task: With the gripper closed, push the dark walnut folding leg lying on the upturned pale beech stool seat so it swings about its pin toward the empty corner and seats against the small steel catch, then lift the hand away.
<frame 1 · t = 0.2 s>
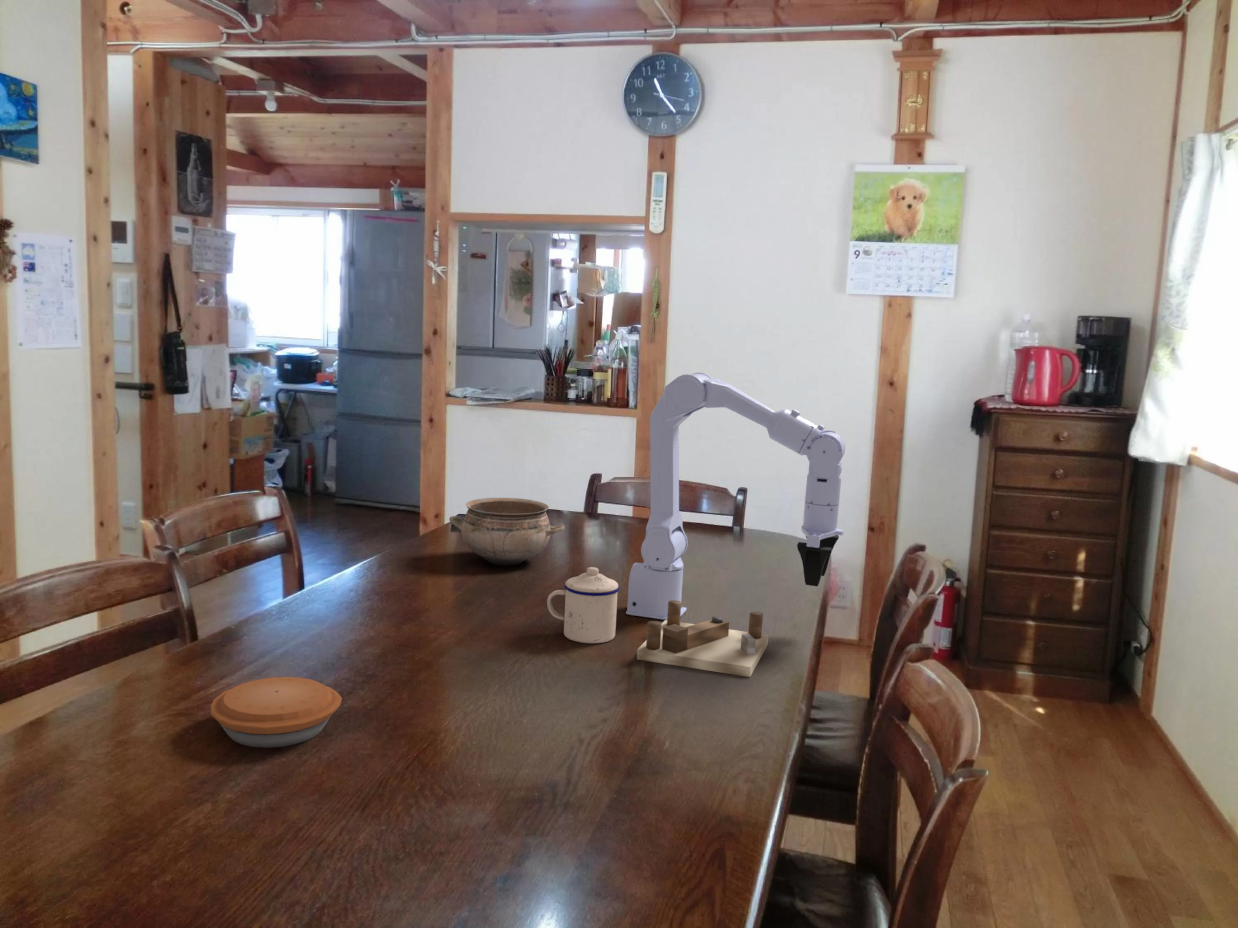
hand: (815, 579, 173), 10 cm above the table, tool pointing down, fingers open, 7 cm apart
cooking pot: (505, 562, 215), on the table
teacup with lid: (580, 635, 169), on the table
pie: (276, 730, 126), on the table
stool seat: (704, 651, 164), on the table
folding leg: (696, 631, 163), point 3 cm above the table, hinge at -57.0°
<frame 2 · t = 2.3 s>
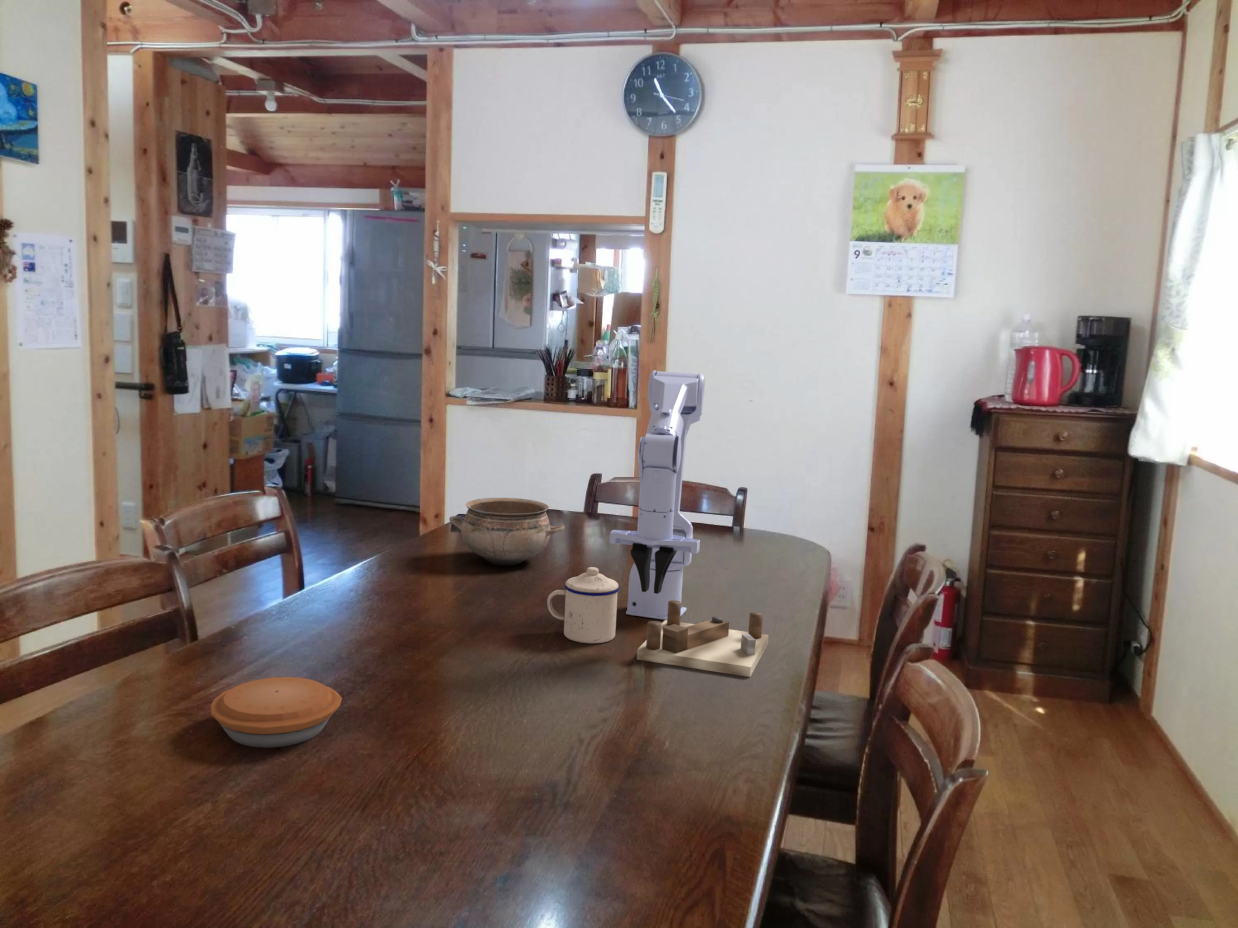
hand: (651, 591, 163), 9 cm above the table, tool pointing down, fingers closed
nothing on the table moved.
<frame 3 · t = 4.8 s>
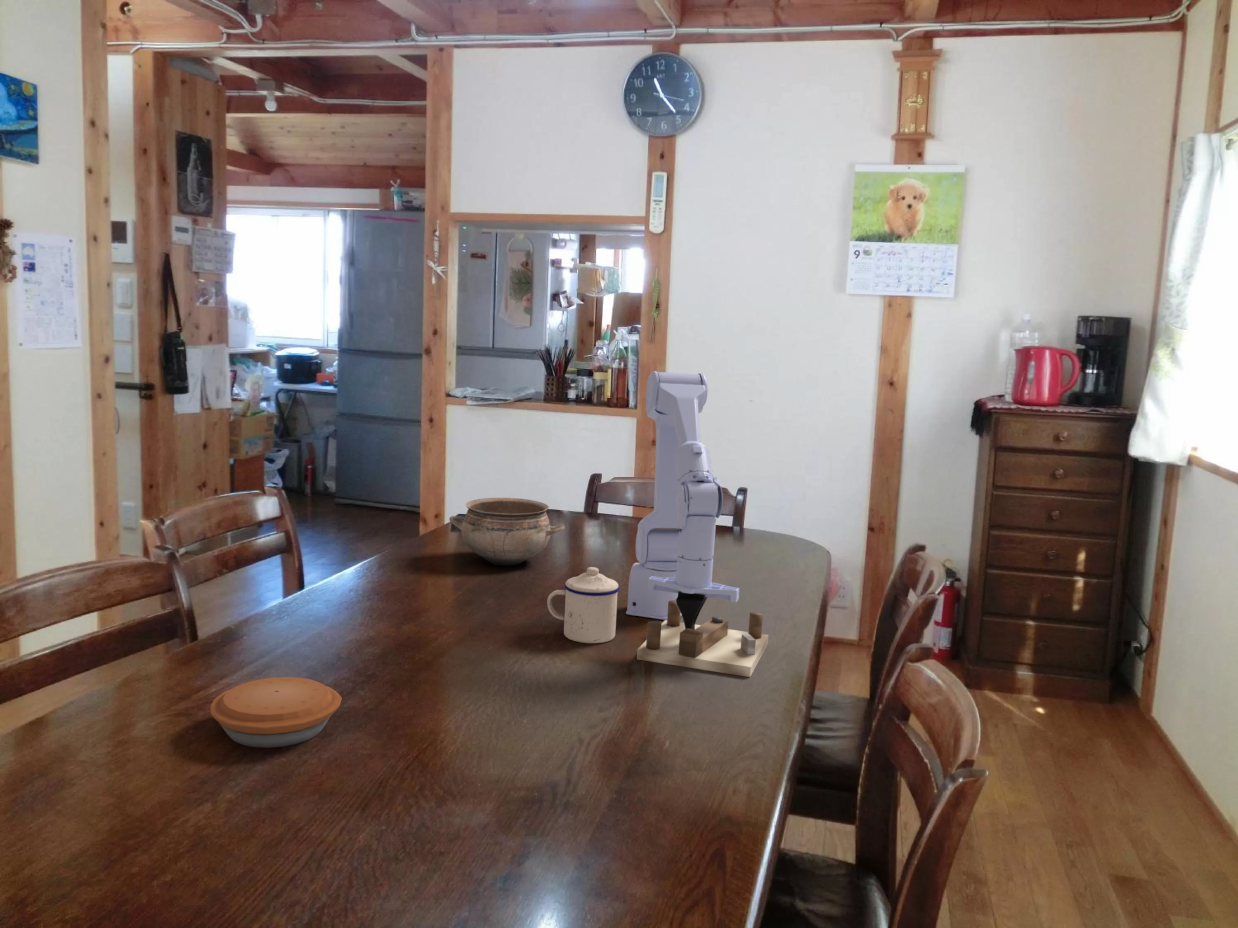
hand: (689, 638, 162), 3 cm above the table, tool pointing down, fingers closed, pressing on folding leg
folding leg: (704, 633, 162), point 3 cm above the table, hinge at -41.5°, touching gripper
everything else where it was.
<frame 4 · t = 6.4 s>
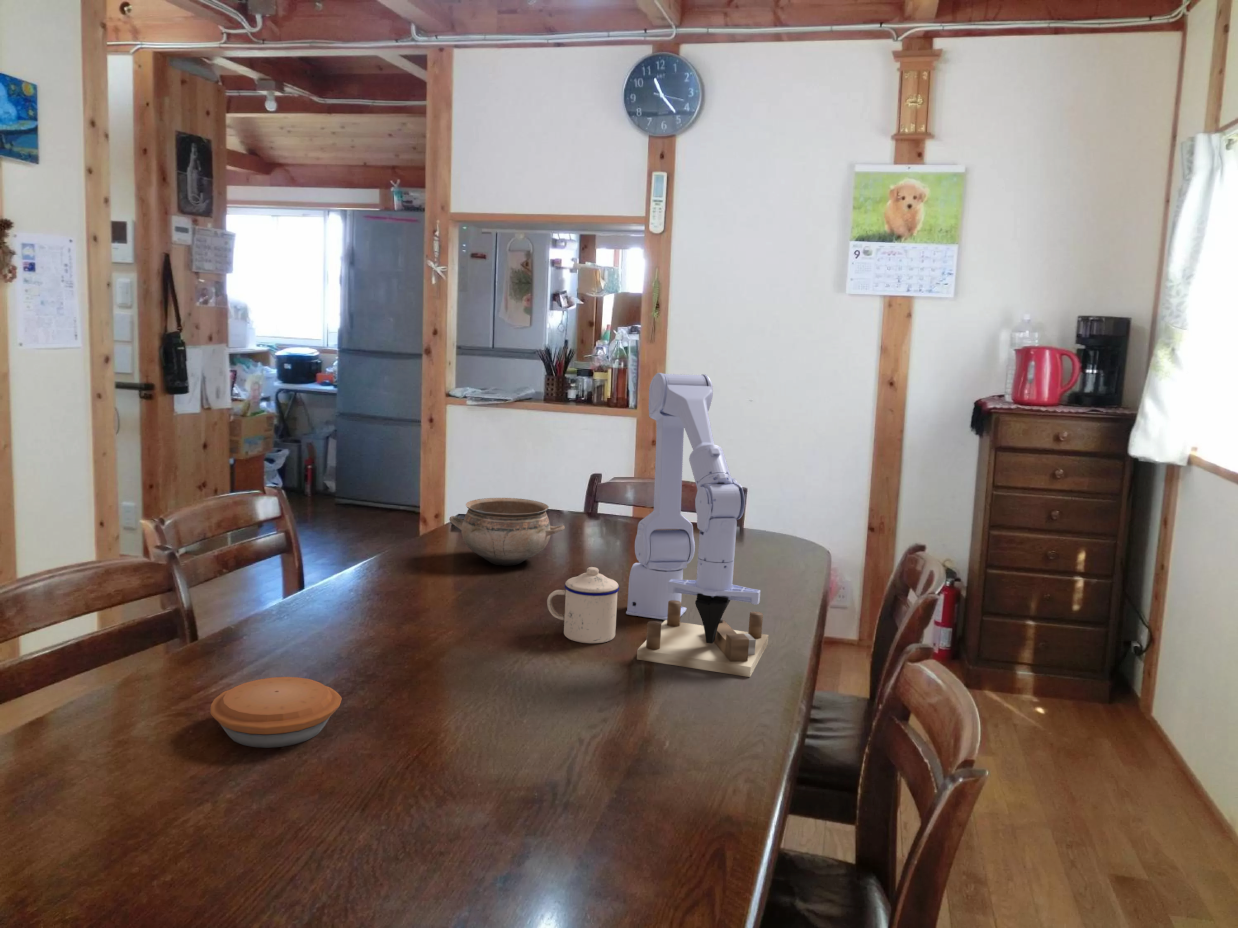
hand: (710, 641, 161), 3 cm above the table, tool pointing down, fingers closed
folding leg: (726, 635, 161), point 3 cm above the table, hinge at -3.6°, touching gripper
everything else where it was.
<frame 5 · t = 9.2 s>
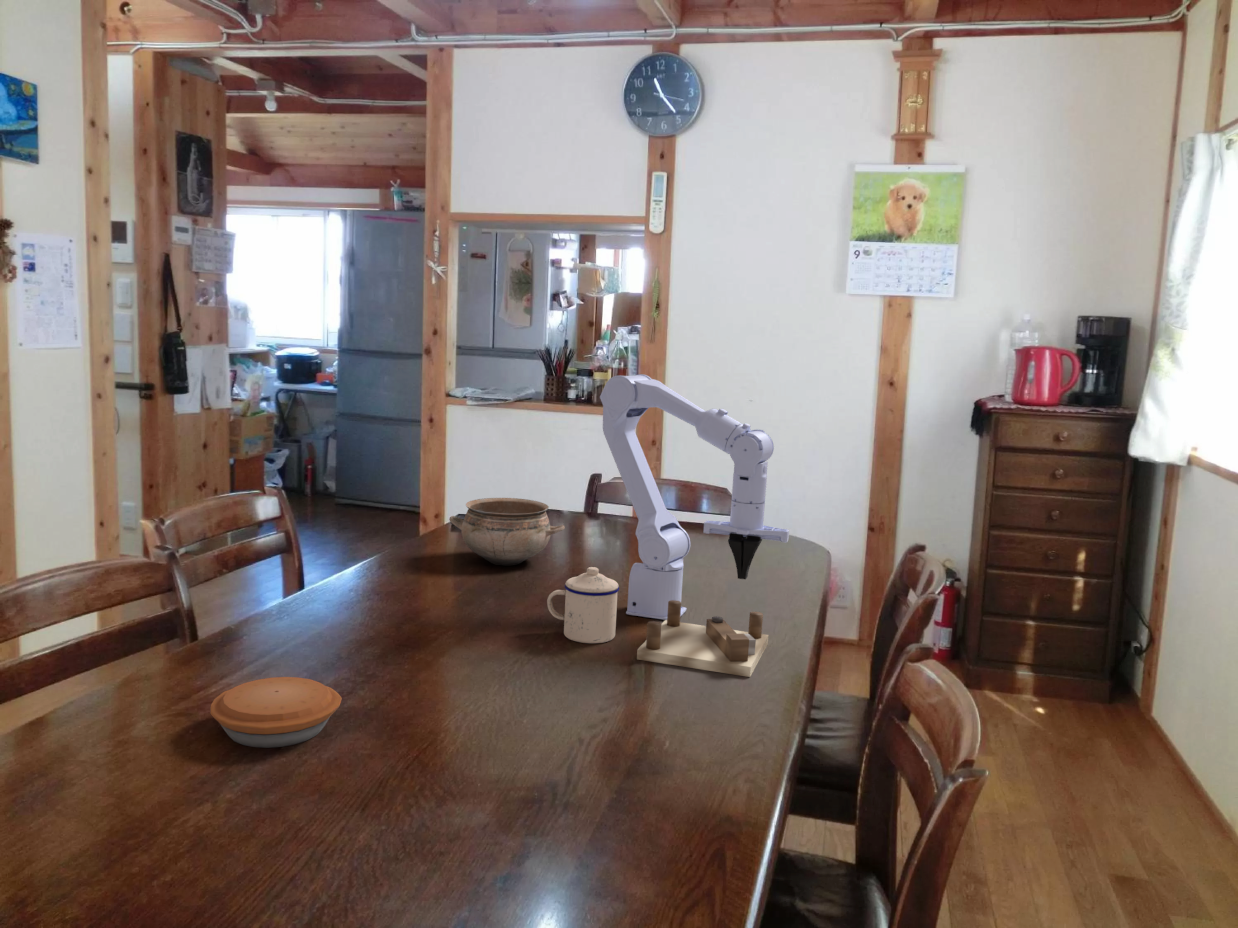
hand: (742, 577, 175), 9 cm above the table, tool pointing down, fingers closed
folding leg: (726, 635, 161), point 3 cm above the table, hinge at -3.5°
everything else where it was.
at the end: folding leg at -4° (first picture: -57°) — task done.
